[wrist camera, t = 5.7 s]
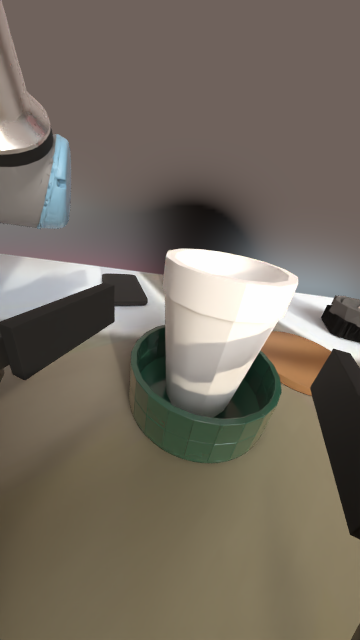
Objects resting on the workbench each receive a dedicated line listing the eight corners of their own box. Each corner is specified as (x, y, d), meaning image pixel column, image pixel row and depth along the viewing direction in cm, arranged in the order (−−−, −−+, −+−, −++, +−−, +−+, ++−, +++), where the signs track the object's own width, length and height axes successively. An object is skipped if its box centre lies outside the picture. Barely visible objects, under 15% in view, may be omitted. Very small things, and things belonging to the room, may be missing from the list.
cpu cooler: (418, 325, 33) (346, 308, 35) (395, 354, 36) (330, 337, 38) (383, 303, 42) (328, 291, 44) (367, 328, 44) (316, 315, 47)
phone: (105, 301, 35) (101, 273, 47) (105, 306, 35) (101, 276, 47) (149, 301, 38) (135, 274, 50) (148, 305, 38) (134, 278, 50)
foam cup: (222, 360, 26) (255, 256, 20) (261, 428, 19) (333, 291, 13) (147, 361, 24) (158, 244, 18) (154, 440, 16) (179, 278, 10)
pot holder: (236, 334, 33) (238, 329, 33) (305, 337, 36) (307, 332, 36) (285, 401, 22) (289, 395, 22) (379, 397, 25) (384, 391, 25)
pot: (131, 351, 26) (132, 319, 24) (231, 353, 29) (241, 325, 27) (125, 473, 14) (127, 431, 12) (293, 454, 17) (319, 419, 15)
